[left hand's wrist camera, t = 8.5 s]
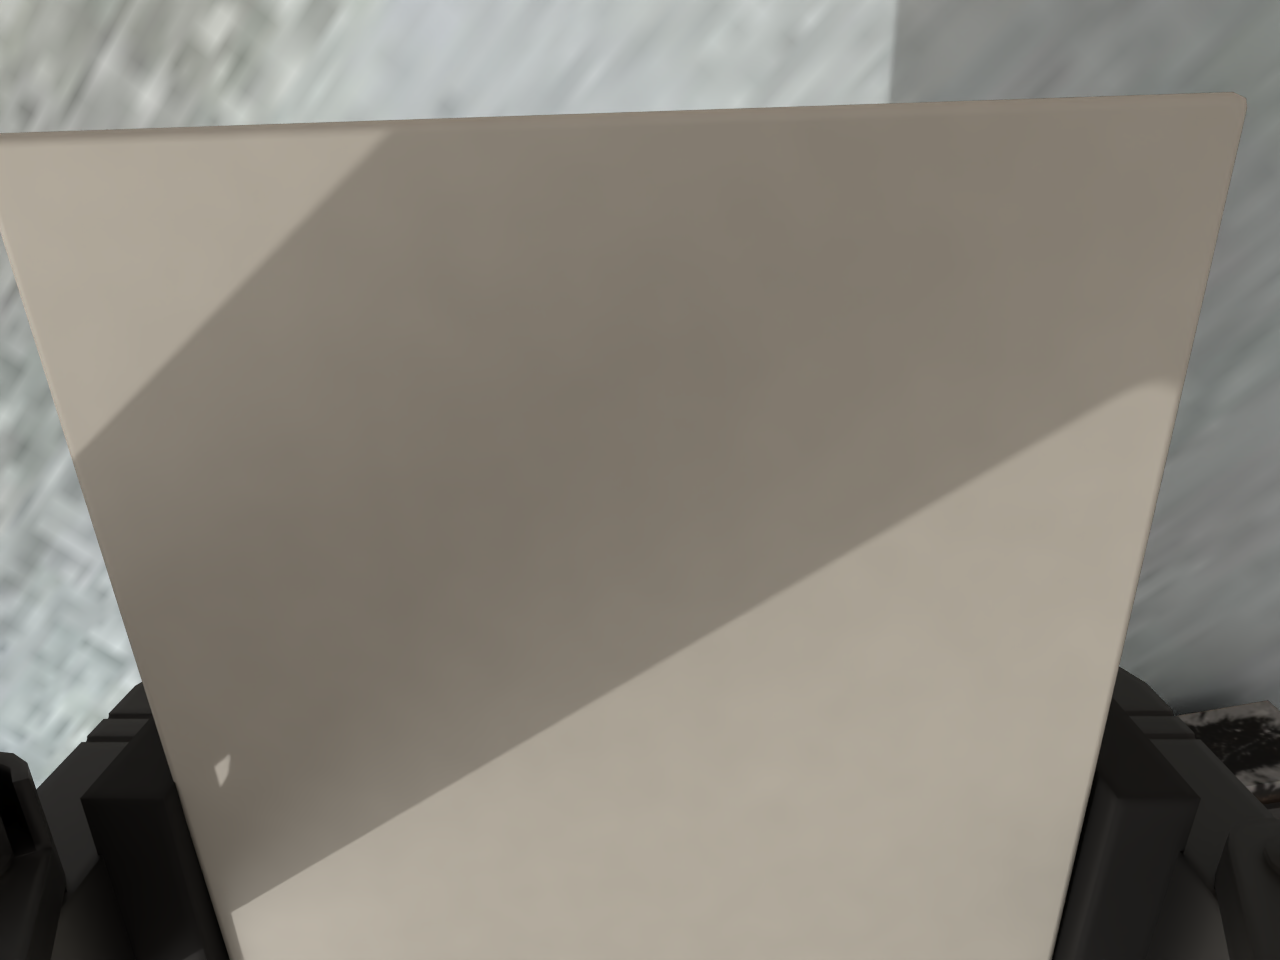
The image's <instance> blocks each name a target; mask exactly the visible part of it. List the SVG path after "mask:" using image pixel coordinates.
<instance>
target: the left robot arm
mask: <svg viewBox="0 0 1280 960" xmlns="http://www.w3.org/2000/svg"><path fill="white" fill-rule="evenodd" d="M0 960H230V958H229V955H228V952H227V949H226V946H225V943H224V939H223V936H222V933H221V930H220V927H219V924H218V920H217V917H216V914H215V911H214V908H213V904H212V901H211V898H210V895H209V892H208V889H207V885H206V882H205V879H204V876H203V873H202V870H201V866H200V863H199V860H198V857H197V854H196V851H195V847H194V844H193V841H192V838H191V835H190V832H189V828H188V825H187V822H186V819H185V815H184V812H183V808H182V805H181V801H180V798H179V794H178V791H177V787H176V784H175V782H174V781H173V778H172V774H171V771H170V768H169V765H168V762H167V759H166V755H165V752H164V749H163V746H162V743H161V740H160V736H159V733H158V730H157V727H156V724H155V721H154V717H153V714H152V711H151V708H150V705H149V702H148V698H147V695H146V692H145V689H144V686H143V682H141V683H139V684H138V685H136V686H135V687H134V688H133V689H132V690H131V691H130V692H129V693H128V694H127V695H126V696H125V697H124V698H123V699H122V700H121V701H120V702H119V703H118V704H117V705H116V707H115V708H114V709H113V710H112V711H111V712H110V713H109V718H108V719H103V720H102V721H101V722H100V723H99V724H98V725H97V726H96V728H95V729H94V730H93V731H92V732H91V733H90V734H89V735H88V736H87V741H86V742H81V743H80V744H79V745H78V746H77V747H76V749H75V750H74V751H73V752H72V753H71V754H70V755H69V756H68V757H67V758H66V759H65V760H64V761H63V762H62V763H61V764H60V765H59V766H58V767H57V768H56V769H55V771H54V772H53V773H52V774H51V775H50V776H49V777H48V778H47V779H46V780H45V781H44V782H43V783H42V784H41V785H40V786H39V787H38V788H37V789H36V787H35V784H34V781H33V779H32V776H31V773H30V770H29V767H28V764H27V762H25V761H24V760H22V759H21V758H19V757H18V756H17V755H15V754H14V753H5V752H0ZM1052 960H1280V819H1276V818H1275V817H1274V816H1273V815H1272V814H1271V813H1270V811H1269V810H1268V809H1267V808H1266V807H1265V806H1264V805H1263V804H1262V803H1261V802H1260V801H1259V800H1258V799H1257V798H1256V797H1255V796H1254V795H1253V794H1252V793H1251V792H1250V791H1249V790H1248V789H1247V788H1246V786H1245V785H1244V784H1243V783H1242V782H1241V781H1240V780H1239V779H1238V778H1237V777H1236V776H1235V775H1234V774H1233V773H1232V772H1231V771H1230V770H1229V769H1228V768H1227V767H1226V766H1225V765H1224V764H1223V762H1222V761H1221V760H1220V759H1219V758H1218V757H1217V756H1216V755H1215V754H1214V753H1213V752H1212V751H1211V750H1210V749H1209V748H1208V747H1207V746H1206V745H1205V744H1204V743H1203V742H1202V741H1201V740H1200V739H1195V733H1194V732H1193V731H1192V730H1191V729H1190V728H1189V727H1188V726H1187V725H1186V724H1185V723H1184V722H1183V721H1182V720H1181V719H1180V718H1179V717H1178V716H1173V710H1172V709H1171V708H1170V707H1169V706H1168V705H1167V704H1166V703H1165V702H1164V701H1163V700H1162V699H1161V698H1160V697H1159V696H1158V695H1157V694H1156V693H1155V692H1154V691H1153V690H1152V688H1151V687H1150V686H1149V685H1148V684H1147V683H1145V682H1143V681H1142V680H1140V679H1139V678H1137V677H1135V676H1134V675H1132V674H1130V673H1129V672H1127V671H1125V670H1124V669H1122V668H1121V667H1119V668H1118V673H1117V677H1116V681H1115V686H1114V690H1113V694H1112V699H1111V703H1110V707H1109V712H1108V716H1107V721H1106V725H1105V729H1104V734H1103V738H1102V742H1101V747H1100V751H1099V755H1098V760H1097V764H1096V768H1095V773H1094V777H1093V782H1092V786H1091V790H1090V795H1089V799H1088V803H1087V808H1086V812H1085V816H1084V821H1083V825H1082V830H1081V834H1080V838H1079V843H1078V847H1077V851H1076V856H1075V860H1074V864H1073V869H1072V873H1071V877H1070V882H1069V886H1068V891H1067V895H1066V899H1065V904H1064V908H1063V912H1062V917H1061V921H1060V925H1059V930H1058V934H1057V938H1056V943H1055V947H1054V952H1053V956H1052Z"/></svg>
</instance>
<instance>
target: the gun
mask: <svg viewBox="0 0 1280 960" xmlns="http://www.w3.org/2000/svg"><path fill="white" fill-rule="evenodd" d="M1178 717H1179V718H1180V719H1181V720H1182V721H1183V722H1184V723H1185V724H1186V725H1187V726H1188V727H1189V728H1190V729H1191V730H1192V731H1193V732H1194V733H1195V739H1200V740H1201V741H1202V742H1203V743H1204V744H1205V745H1206V746H1207V747H1208V748H1209V749H1210V750H1211V751H1212V752H1213V753H1214V754H1215V755H1216V756H1217V757H1218V758H1219V759H1220V760H1221V761H1222V762H1223V764H1224V765H1225V766H1226V767H1227V768H1228V769H1229V770H1230V771H1231V772H1232V773H1233V774H1234V775H1235V776H1236V777H1237V778H1238V779H1239V780H1240V781H1241V782H1242V783H1243V784H1244V785H1245V786H1246V788H1247V789H1248V790H1249V791H1250V792H1251V793H1252V794H1253V795H1254V796H1255V797H1256V798H1257V799H1258V800H1259V801H1260V802H1261V803H1262V804H1263V805H1264V806H1265V807H1266V808H1267V809H1268V810H1269V811H1270V813H1271V814H1272V815H1273V816H1274V817H1275V818H1276V819H1280V711H1279V710H1278V709H1277V708H1276V707H1275V706H1274V705H1273V704H1271V703H1270V702H1269V701H1268V700H1267V701H1261V702H1255V703H1249V704H1243V705H1238V706H1232V707H1226V708H1220V709H1214V710H1208V711H1202V712H1197V713H1191V714H1185V715H1179V716H1178Z"/></svg>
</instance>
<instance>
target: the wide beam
mask: <svg viewBox="0 0 1280 960" xmlns="http://www.w3.org/2000/svg"><path fill="white" fill-rule="evenodd" d="M1246 110H1247V103H1246V98H1244V97H1243V96H1240V95H1238V94H1236V93H1234V92H1219V93H1189V94H1159V95H1129V96H1099V97H1069V98H1039V99H1010V100H980V101H950V102H920V103H890V104H860V105H831V106H801V107H771V108H741V109H711V110H681V111H651V112H622V113H592V114H562V115H532V116H502V117H472V118H442V119H413V120H383V121H353V122H323V123H293V124H263V125H233V126H204V127H174V128H144V129H114V130H84V131H54V132H25V133H0V232H1V235H2V238H3V242H4V245H5V248H6V251H7V254H8V258H9V261H10V264H11V267H12V270H13V273H14V277H15V280H16V283H17V286H18V289H19V292H20V296H21V299H22V302H23V305H24V308H25V311H26V315H27V318H28V321H29V324H30V327H31V330H32V334H33V337H34V340H35V343H36V346H37V349H38V353H39V356H40V359H41V362H42V365H43V369H44V372H45V375H46V378H47V381H48V384H49V388H50V391H51V394H52V397H53V400H54V403H55V407H56V410H57V413H58V416H59V419H60V422H61V426H62V429H63V432H64V435H65V438H66V441H67V445H68V448H69V451H70V454H71V457H72V460H73V464H74V467H75V470H76V473H77V476H78V480H79V483H80V486H81V489H82V492H83V495H84V499H85V502H86V505H87V508H88V511H89V514H90V518H91V521H92V524H93V527H94V530H95V533H96V537H97V540H98V543H99V546H100V549H101V552H102V556H103V559H104V562H105V565H106V568H107V571H108V575H109V578H110V581H111V584H112V587H113V591H114V594H115V597H116V600H117V603H118V606H119V610H120V613H121V616H122V619H123V622H124V625H125V629H126V632H127V635H128V638H129V641H130V644H131V648H132V651H133V654H134V657H135V660H136V663H137V667H138V670H139V673H140V676H141V679H142V682H143V686H144V689H145V692H146V695H147V698H148V702H149V705H150V708H151V711H152V714H153V717H154V721H155V724H156V727H157V730H158V733H159V736H160V740H161V743H162V746H163V749H164V752H165V755H166V759H167V762H168V765H169V768H170V771H171V774H172V778H173V781H174V782H175V784H176V787H177V791H178V794H179V798H180V801H181V805H182V808H183V812H184V815H185V819H186V822H187V825H188V828H189V832H190V835H191V838H192V841H193V844H194V847H195V851H196V854H197V857H198V860H199V863H200V866H201V870H202V873H203V876H204V879H205V882H206V885H207V889H208V892H209V895H210V898H211V901H212V904H213V908H214V911H215V914H216V917H217V920H218V924H219V927H220V930H221V933H222V936H223V939H224V943H225V946H226V949H227V952H228V955H229V958H230V960H1052V956H1053V952H1054V947H1055V943H1056V938H1057V934H1058V930H1059V925H1060V921H1061V917H1062V912H1063V908H1064V904H1065V899H1066V895H1067V891H1068V886H1069V882H1070V877H1071V873H1072V869H1073V864H1074V860H1075V856H1076V851H1077V847H1078V843H1079V838H1080V834H1081V830H1082V825H1083V821H1084V816H1085V812H1086V808H1087V803H1088V799H1089V795H1090V790H1091V786H1092V782H1093V777H1094V773H1095V768H1096V764H1097V760H1098V755H1099V751H1100V747H1101V742H1102V738H1103V734H1104V729H1105V725H1106V721H1107V716H1108V712H1109V707H1110V703H1111V699H1112V694H1113V690H1114V686H1115V681H1116V677H1117V673H1118V668H1119V664H1120V660H1121V655H1122V651H1123V646H1124V642H1125V638H1126V633H1127V629H1128V625H1129V620H1130V616H1131V612H1132V607H1133V603H1134V599H1135V594H1136V590H1137V585H1138V581H1139V577H1140V572H1141V568H1142V564H1143V559H1144V555H1145V551H1146V546H1147V542H1148V537H1149V533H1150V529H1151V524H1152V520H1153V516H1154V511H1155V507H1156V503H1157V498H1158V494H1159V490H1160V485H1161V481H1162V476H1163V472H1164V468H1165V463H1166V459H1167V455H1168V450H1169V446H1170V442H1171V437H1172V433H1173V429H1174V424H1175V420H1176V415H1177V411H1178V407H1179V402H1180V398H1181V394H1182V389H1183V385H1184V381H1185V376H1186V372H1187V368H1188V363H1189V359H1190V354H1191V350H1192V346H1193V341H1194V337H1195V333H1196V328H1197V324H1198V320H1199V315H1200V311H1201V306H1202V302H1203V298H1204V293H1205V289H1206V285H1207V280H1208V276H1209V272H1210V267H1211V263H1212V259H1213V254H1214V250H1215V245H1216V241H1217V237H1218V232H1219V228H1220V224H1221V219H1222V215H1223V211H1224V206H1225V202H1226V198H1227V193H1228V189H1229V184H1230V180H1231V176H1232V171H1233V167H1234V163H1235V158H1236V154H1237V150H1238V145H1239V141H1240V137H1241V132H1242V128H1243V123H1244V119H1245V115H1246Z"/></svg>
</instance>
